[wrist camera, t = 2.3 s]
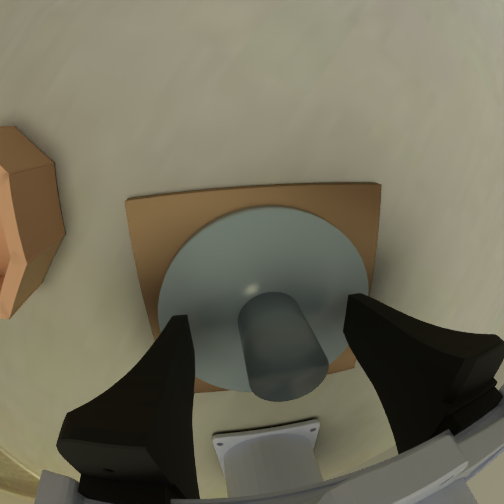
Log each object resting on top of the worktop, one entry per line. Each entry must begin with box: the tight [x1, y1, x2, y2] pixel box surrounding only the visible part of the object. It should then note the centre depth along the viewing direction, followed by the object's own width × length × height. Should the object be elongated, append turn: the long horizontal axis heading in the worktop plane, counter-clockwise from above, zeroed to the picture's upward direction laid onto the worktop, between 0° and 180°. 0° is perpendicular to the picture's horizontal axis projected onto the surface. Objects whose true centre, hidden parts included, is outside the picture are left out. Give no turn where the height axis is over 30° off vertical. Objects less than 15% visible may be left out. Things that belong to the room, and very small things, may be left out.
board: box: [125, 183, 381, 393], centre depth 13 cm, size 11×11×1 cm
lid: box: [158, 205, 369, 402], centre depth 11 cm, size 10×10×4 cm
